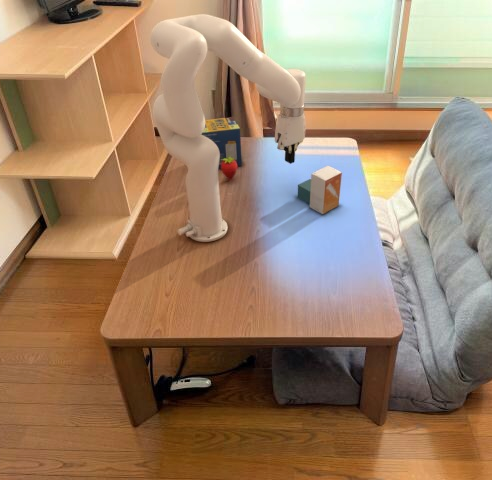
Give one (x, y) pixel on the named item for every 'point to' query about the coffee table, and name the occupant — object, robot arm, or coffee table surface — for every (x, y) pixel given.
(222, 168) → the strawberry
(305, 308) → the coffee table surface
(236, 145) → the protein box
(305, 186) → the teal block
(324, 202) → the small box
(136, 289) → the coffee table surface
